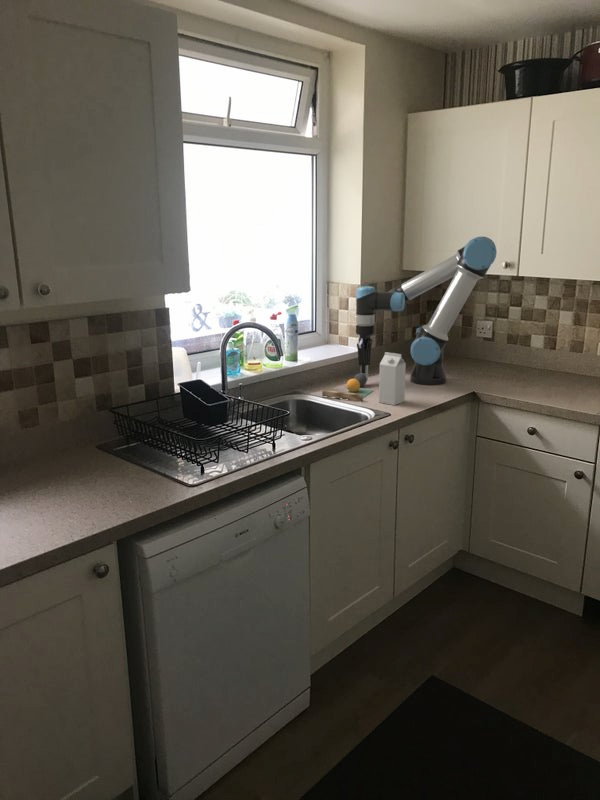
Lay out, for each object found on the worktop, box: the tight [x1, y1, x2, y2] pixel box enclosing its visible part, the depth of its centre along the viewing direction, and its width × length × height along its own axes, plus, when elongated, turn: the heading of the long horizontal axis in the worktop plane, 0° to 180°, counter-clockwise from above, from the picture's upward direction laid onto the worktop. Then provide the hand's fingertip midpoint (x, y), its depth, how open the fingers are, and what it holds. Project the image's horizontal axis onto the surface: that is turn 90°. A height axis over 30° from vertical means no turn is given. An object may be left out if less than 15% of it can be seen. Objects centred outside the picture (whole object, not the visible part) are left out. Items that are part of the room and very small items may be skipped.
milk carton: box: [378, 351, 407, 406], centre depth 247 cm, size 7×7×19 cm
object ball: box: [345, 378, 361, 392], centre depth 264 cm, size 6×6×6 cm
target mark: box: [348, 388, 374, 399], centre depth 263 cm, size 14×14×1 cm
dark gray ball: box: [353, 372, 368, 388], centre depth 273 cm, size 6×6×6 cm
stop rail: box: [321, 389, 364, 402], centre depth 255 cm, size 16×2×2 cm, turn 65°
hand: (364, 380), depth 276 cm, fingers closed
